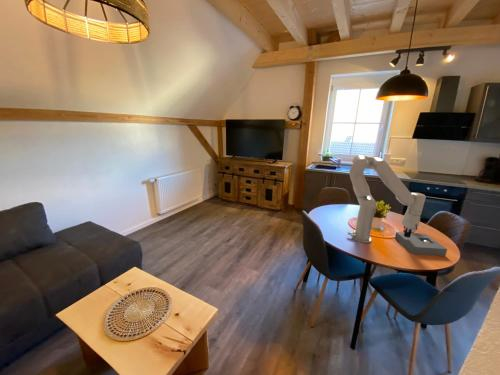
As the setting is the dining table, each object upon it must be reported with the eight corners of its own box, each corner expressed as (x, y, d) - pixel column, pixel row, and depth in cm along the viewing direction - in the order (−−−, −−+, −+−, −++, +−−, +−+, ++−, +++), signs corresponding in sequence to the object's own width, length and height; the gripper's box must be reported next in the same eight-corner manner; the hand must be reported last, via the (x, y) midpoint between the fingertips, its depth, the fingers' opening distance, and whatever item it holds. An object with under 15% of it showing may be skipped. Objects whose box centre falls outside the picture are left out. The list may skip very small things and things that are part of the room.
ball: (433, 247, 143) (426, 250, 144) (428, 243, 148) (421, 246, 149) (431, 240, 142) (423, 243, 143) (425, 237, 147) (418, 240, 148)
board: (411, 253, 138) (413, 246, 137) (394, 238, 157) (396, 232, 156) (445, 256, 136) (447, 249, 135) (423, 240, 156) (425, 233, 154)
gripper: (401, 207, 148) (394, 230, 153) (415, 215, 134) (407, 241, 139) (412, 207, 148) (406, 231, 153) (428, 216, 133) (419, 243, 138)
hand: (406, 236), depth 146 cm, fingers closed
